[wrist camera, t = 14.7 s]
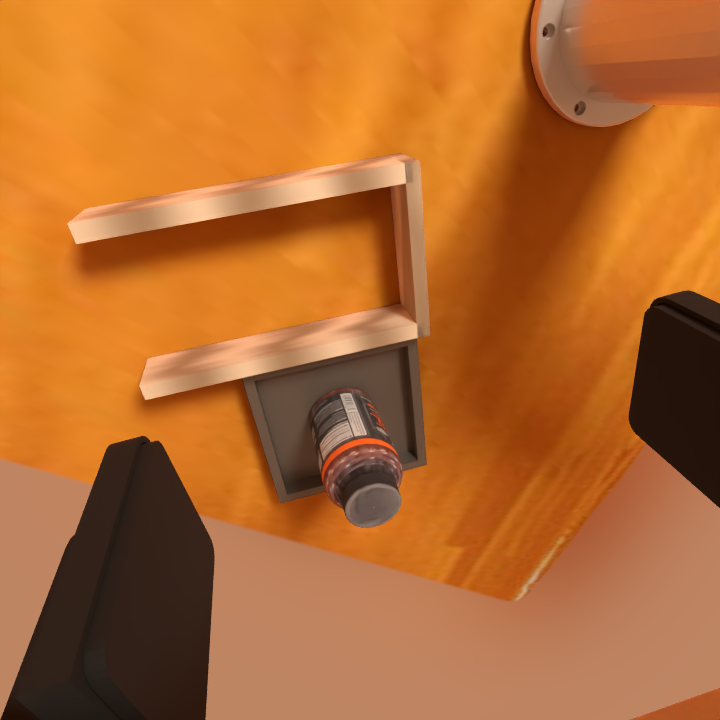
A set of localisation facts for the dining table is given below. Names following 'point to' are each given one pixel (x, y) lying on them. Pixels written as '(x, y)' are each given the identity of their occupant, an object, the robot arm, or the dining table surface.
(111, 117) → the dining table surface
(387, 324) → the bay
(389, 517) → the supplement bottle
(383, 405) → the tray
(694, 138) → the dining table surface
